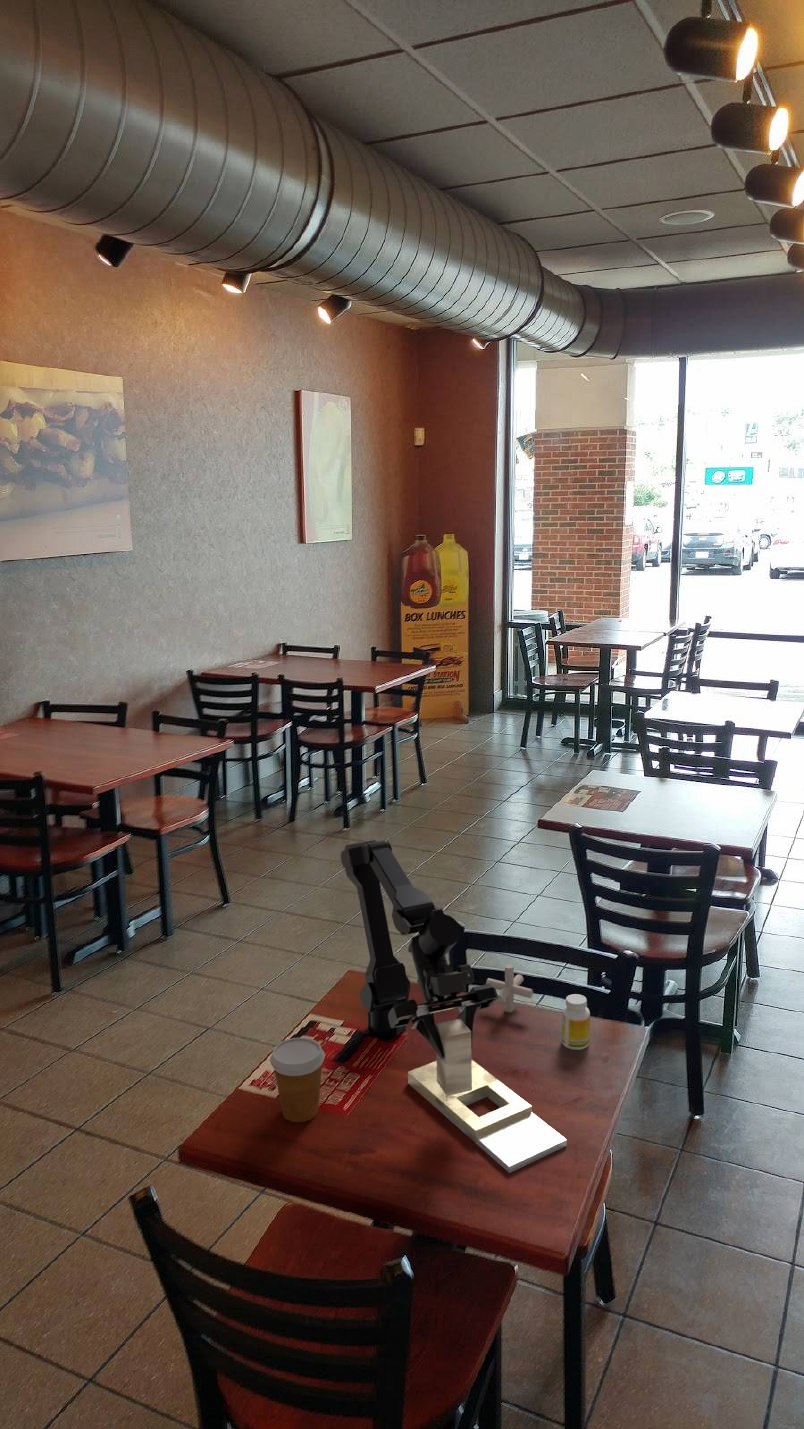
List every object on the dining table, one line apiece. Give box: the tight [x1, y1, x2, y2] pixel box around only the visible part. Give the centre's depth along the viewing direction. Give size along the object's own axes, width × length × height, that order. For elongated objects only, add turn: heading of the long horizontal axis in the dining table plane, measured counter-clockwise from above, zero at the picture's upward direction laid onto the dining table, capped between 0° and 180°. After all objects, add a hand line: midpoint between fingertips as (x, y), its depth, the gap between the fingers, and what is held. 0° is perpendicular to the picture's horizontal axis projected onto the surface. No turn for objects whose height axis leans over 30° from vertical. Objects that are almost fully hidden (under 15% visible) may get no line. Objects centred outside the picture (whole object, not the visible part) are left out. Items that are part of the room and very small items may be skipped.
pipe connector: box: [485, 963, 534, 1013], centre depth 207 cm, size 10×10×10 cm
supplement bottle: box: [561, 993, 591, 1051], centre depth 194 cm, size 5×5×10 cm
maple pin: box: [435, 1018, 473, 1096], centre depth 169 cm, size 5×5×11 cm
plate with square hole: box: [407, 1059, 568, 1174], centre depth 173 cm, size 30×12×2 cm, turn 32°
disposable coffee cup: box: [269, 1037, 326, 1123], centre depth 174 cm, size 10×10×12 cm
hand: (456, 1055), depth 167 cm, fingers closed on maple pin, 5 cm apart
